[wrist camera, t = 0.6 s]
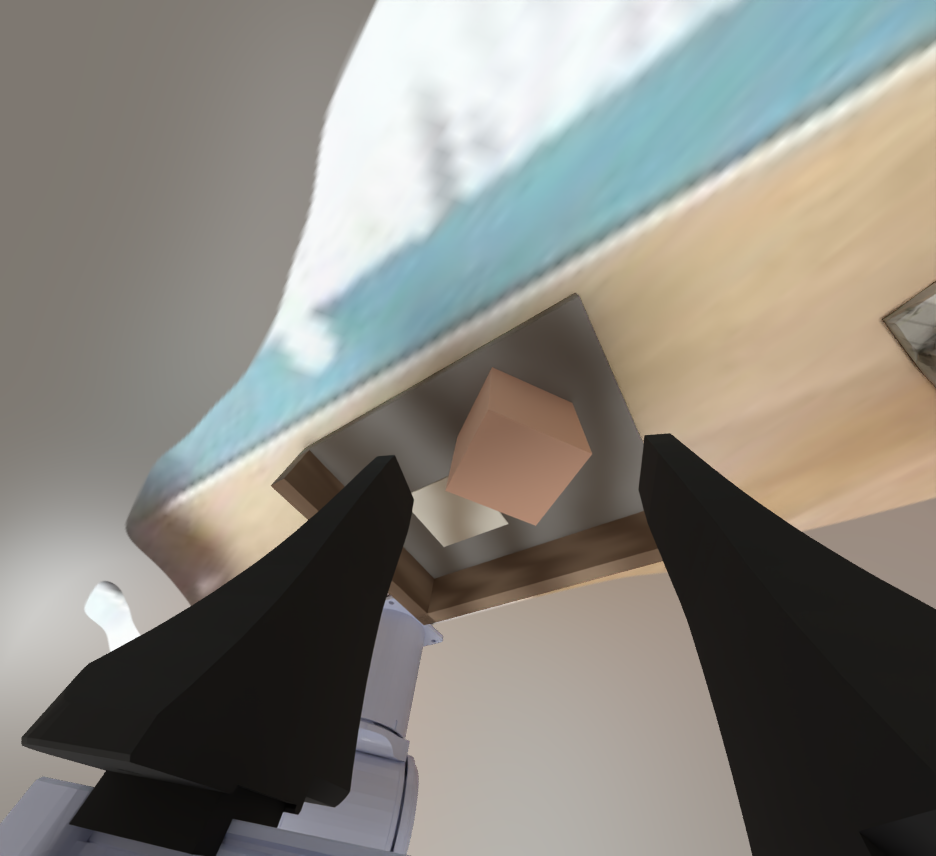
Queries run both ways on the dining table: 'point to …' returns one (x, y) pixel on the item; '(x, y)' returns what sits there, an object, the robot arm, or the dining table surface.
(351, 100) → the dining table surface
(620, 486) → the tray
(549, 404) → the cube
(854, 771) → the robot arm
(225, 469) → the dining table surface
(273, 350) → the dining table surface
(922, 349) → the packaged product
